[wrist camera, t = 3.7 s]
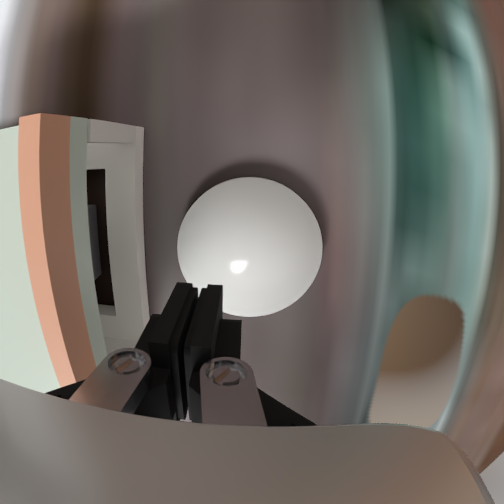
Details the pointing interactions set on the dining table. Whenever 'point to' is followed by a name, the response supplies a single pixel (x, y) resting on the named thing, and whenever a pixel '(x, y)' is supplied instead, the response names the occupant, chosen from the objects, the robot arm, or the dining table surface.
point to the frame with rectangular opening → (122, 228)
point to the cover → (46, 256)
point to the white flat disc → (251, 245)
